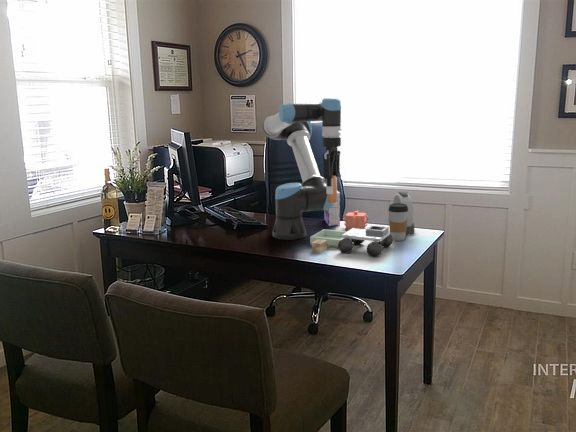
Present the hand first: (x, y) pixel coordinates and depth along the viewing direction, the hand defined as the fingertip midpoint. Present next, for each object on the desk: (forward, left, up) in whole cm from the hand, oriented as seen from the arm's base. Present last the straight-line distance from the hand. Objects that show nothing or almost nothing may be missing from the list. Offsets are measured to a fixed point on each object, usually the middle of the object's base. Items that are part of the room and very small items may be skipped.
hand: (331, 192), depth 229 cm
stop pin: (0, 0, -4) cm, 4 cm away
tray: (0, 0, -21) cm, 21 cm away
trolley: (+17, -5, -21) cm, 28 cm away
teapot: (+1, +26, -22) cm, 34 cm away
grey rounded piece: (+22, +30, -22) cm, 43 cm away
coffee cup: (+24, +16, -22) cm, 36 cm away
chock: (0, -13, -22) cm, 25 cm away
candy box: (-14, +33, -22) cm, 42 cm away
